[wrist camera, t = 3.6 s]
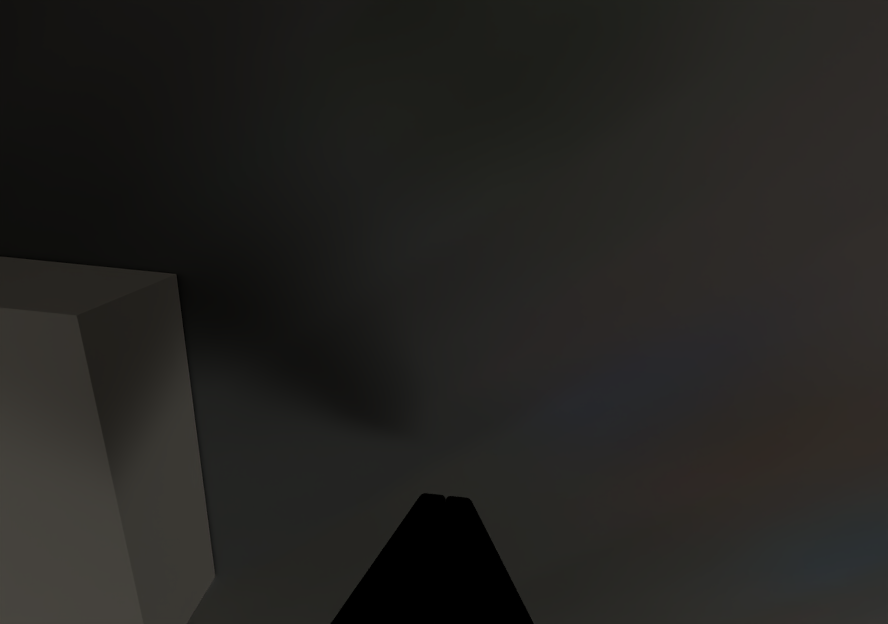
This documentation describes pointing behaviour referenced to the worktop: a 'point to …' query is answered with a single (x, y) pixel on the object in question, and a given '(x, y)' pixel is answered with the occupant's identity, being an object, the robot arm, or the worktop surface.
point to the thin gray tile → (97, 449)
